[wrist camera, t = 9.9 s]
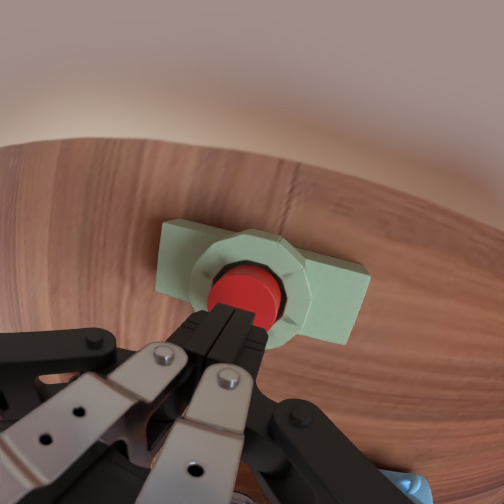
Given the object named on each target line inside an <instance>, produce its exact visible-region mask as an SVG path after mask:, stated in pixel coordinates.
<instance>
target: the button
mask: <svg viewBox="0 0 504 504" xmlns="http://www.w3.org/2000/svg"><path fill="white" fill-rule="evenodd" d="M280 301H281V292H280V288H279V285H278V283H277V281H276V280H275V278H274V277H273V276H272V275H271V274H270V273H269V272H268V271H266V270H265V269H263V268H261V267H258V266H255V265H248V264H247V265H239V266H236V267H234V268H232V269H230V270H229V271H227V272H226V273H225V274H224V275H223V276H222V277H221V278H220V279H219V280H218V281H217V282H216V283H215V284H214V286H213V287H212V288H211V290H210V292H209V295H208V299H207V309H208V312H210V311H211V310H212V309H213V308H214V306H215V305H216V304H217V303H218V302H220V303H223V304H226V305H230V306H233V307H236V308H240V309H244V310H247V311H251V312H254V313H256V316H255V320H254V324H253V325H254V326H258V327H261V328H265V329H266V331H267V332H268V331H269V330H270V329H271V327H272V326H273V324H274V322H275V320H276V317H277V313H278V309H279V306H280Z"/></svg>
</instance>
